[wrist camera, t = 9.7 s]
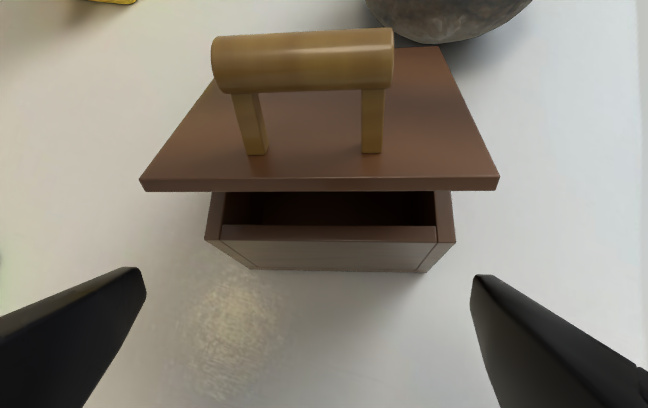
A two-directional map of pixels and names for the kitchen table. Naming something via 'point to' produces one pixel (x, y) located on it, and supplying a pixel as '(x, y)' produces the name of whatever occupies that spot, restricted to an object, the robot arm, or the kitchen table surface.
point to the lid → (325, 120)
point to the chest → (333, 229)
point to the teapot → (116, 1)
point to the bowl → (444, 17)
